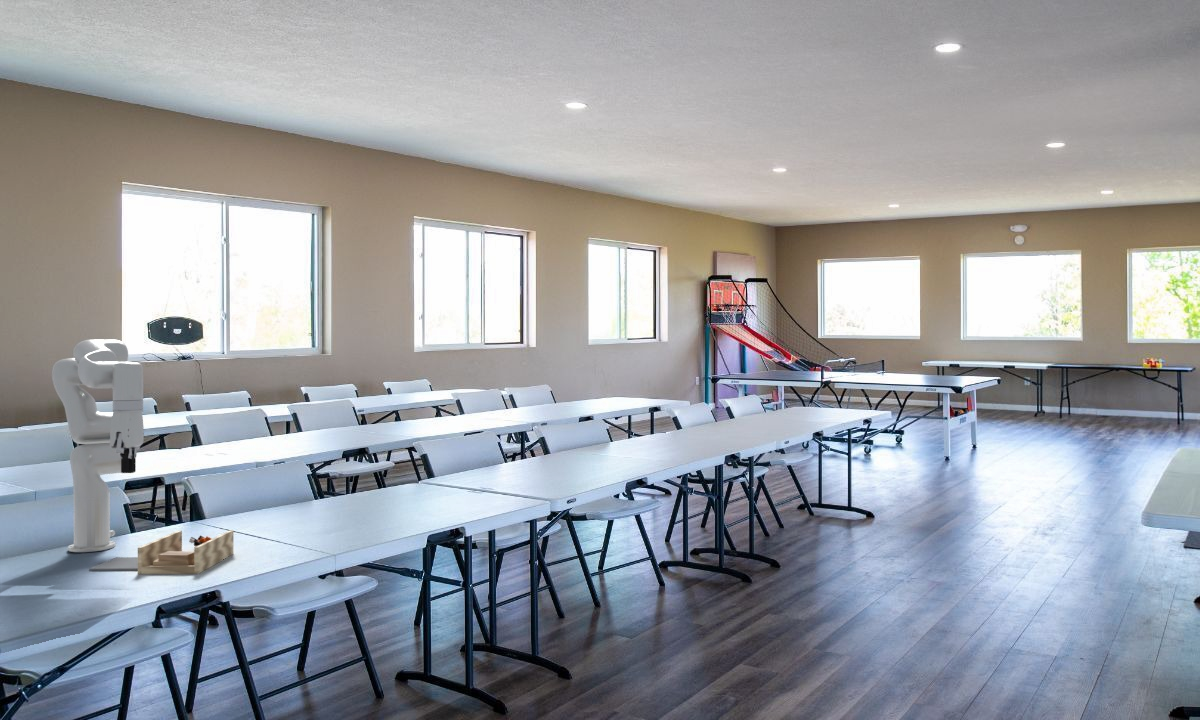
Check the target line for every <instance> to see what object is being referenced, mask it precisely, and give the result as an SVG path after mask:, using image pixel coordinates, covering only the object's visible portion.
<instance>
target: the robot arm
mask: <svg viewBox="0 0 1200 720" xmlns="http://www.w3.org/2000/svg"><path fill="white" fill-rule="evenodd" d="M128 350H129V348H128V346H127V345H126V344H125V343H124V342H123V341H121V340H118V339H85V340H82V341H80V342H78V343H76V345H75V346H74V348H73V351H72V354H73V355H72V356H73V357H70V358H62V359H60V360H57V361H56V362H55V363H54V364H53V366H52V371H51V379H52V383H53V387H54V390H55V391H56V395H57V396H58V397H59V399H60V401H61V402H62V405H63V407H64V412H65V416H66V422H67V425H68V431H69V434H70V438H71V440H72V441H73V442H74V443H75V444H80V445H77V446H76V447H74V448H73V449H72V450H71V452H70V454H69V465H70V469H71V475H72V485H73V543H72V544H70V545H68V546H67V551H68V552H71V553H93V552H100V551H107V550H110V549H113V548H116V544H117V543H116V542H115V540H114V541H113V540H111V537H114V536H115V535H116V531H115V530H114V529H112V530H111V527H110V526H111V521H110V520H111V518H110V517H111V514H110V513H111V507H110V506H111V504H110V503H111V500H110V499H111V497H110V496H111V495H110V494H111V493H110V490H111V489H110V487H109V484H108V483H106V481H104V479H103V478H102V477H101V476H102V475H111V474H112V475H113V474H133V473H136V467H137V466H136V463H137V462H136V458H137V454H138V453H137V452H138V451H139V450H140V449H141V446H142V445H143V444H144V440H145V439H144V437H145V435H144V433H145V432H144V431H145V430H144V419H143V418H144V417H143V412H144V367H143V365H142V363H139V362H134V361H133V362H132V361H128V360H129V351H128ZM81 386H86V387H87V388H89V389H112V411H110V412H109V411H108V412H106V411H105V412H101V411H99V410H98V408H97V403H96V399H95V398H94V396H92V395H91V394H90V393H89V392H88V391H87V390H85V389H84V388H83V387H81Z"/></svg>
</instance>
